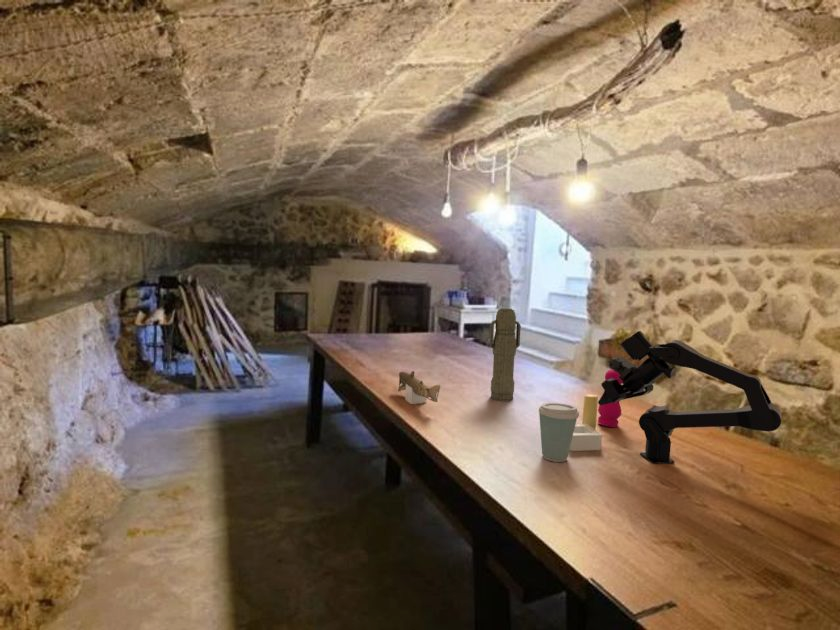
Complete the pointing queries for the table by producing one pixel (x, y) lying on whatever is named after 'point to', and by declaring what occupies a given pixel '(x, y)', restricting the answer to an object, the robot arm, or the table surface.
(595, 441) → the socket
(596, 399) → the peg
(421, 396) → the wood carving
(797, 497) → the table surface
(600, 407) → the pepper mill
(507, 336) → the thermos
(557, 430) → the disposable coffee cup
